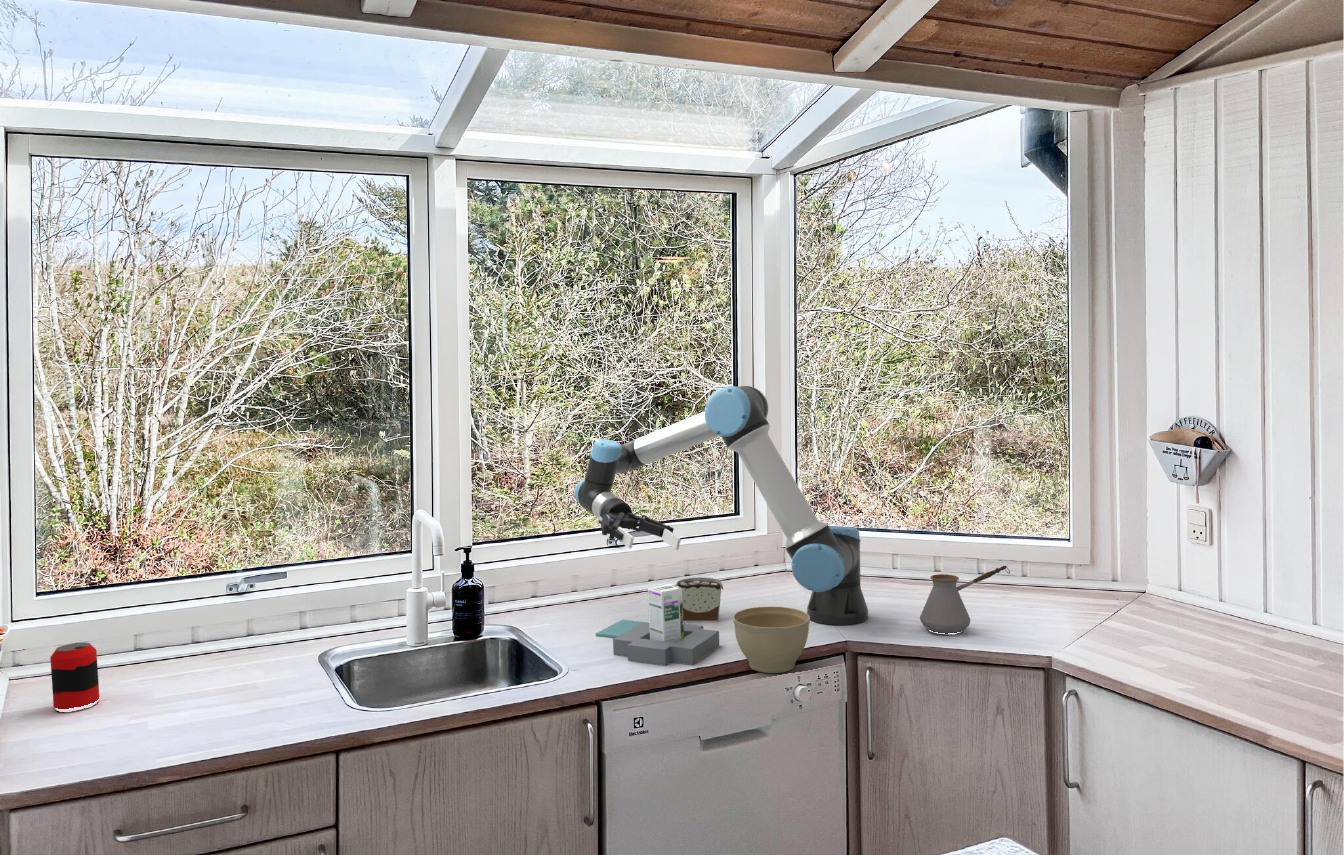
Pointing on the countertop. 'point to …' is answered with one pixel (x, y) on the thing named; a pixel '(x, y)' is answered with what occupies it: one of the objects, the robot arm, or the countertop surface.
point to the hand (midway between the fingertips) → (655, 543)
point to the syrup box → (666, 613)
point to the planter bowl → (771, 637)
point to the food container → (701, 599)
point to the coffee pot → (948, 604)
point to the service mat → (618, 628)
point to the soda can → (74, 675)
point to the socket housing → (666, 645)
